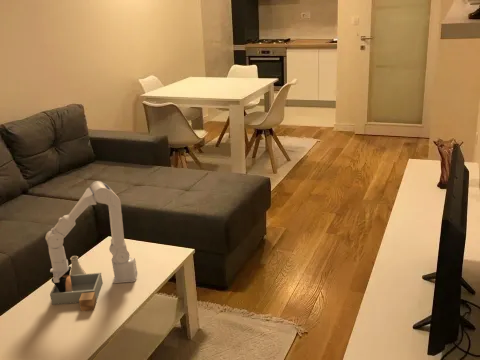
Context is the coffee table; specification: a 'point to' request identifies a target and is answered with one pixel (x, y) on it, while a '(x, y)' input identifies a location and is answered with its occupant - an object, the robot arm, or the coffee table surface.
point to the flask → (76, 266)
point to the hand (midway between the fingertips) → (64, 288)
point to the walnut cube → (87, 301)
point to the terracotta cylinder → (68, 283)
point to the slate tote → (77, 288)
